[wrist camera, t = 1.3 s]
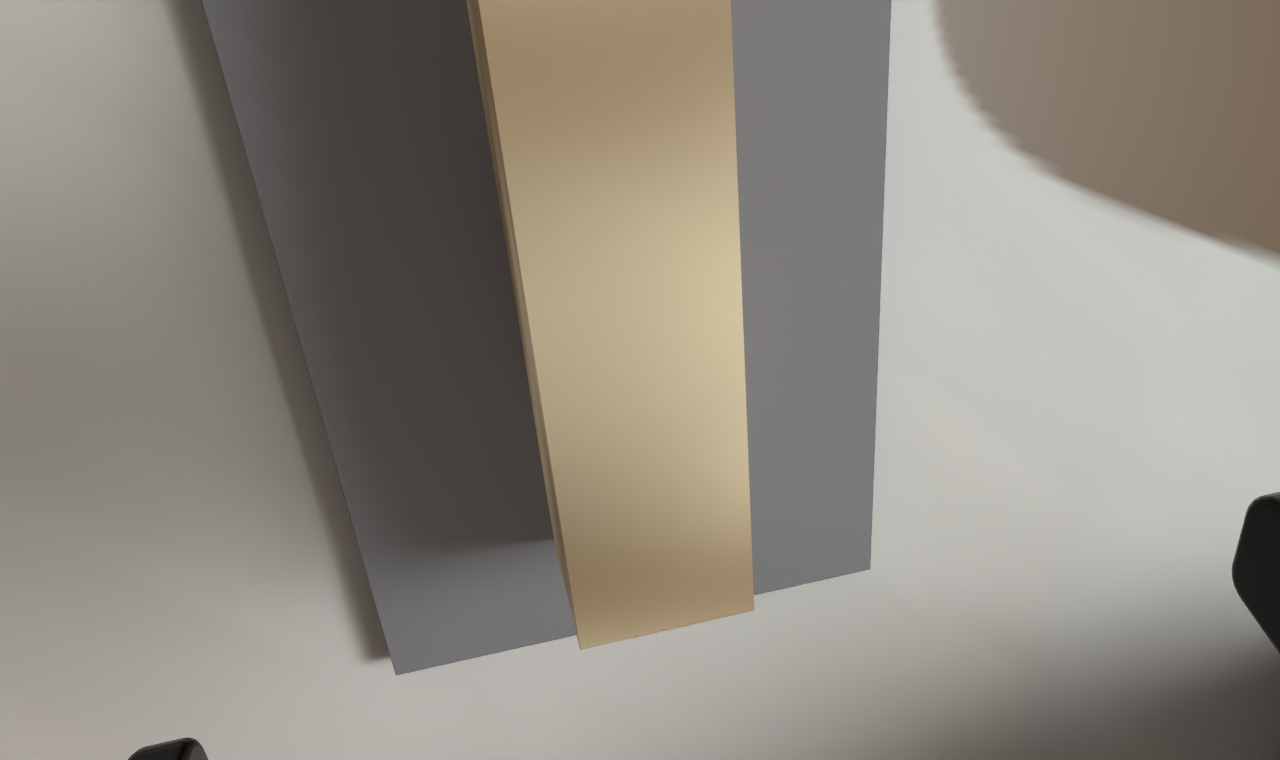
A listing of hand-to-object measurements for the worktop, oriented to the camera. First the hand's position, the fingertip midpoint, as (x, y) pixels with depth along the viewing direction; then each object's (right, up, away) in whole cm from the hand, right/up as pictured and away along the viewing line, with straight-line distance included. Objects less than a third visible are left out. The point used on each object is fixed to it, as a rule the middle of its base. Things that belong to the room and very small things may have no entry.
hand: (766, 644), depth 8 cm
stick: (-2, +6, +4) cm, 7 cm away
